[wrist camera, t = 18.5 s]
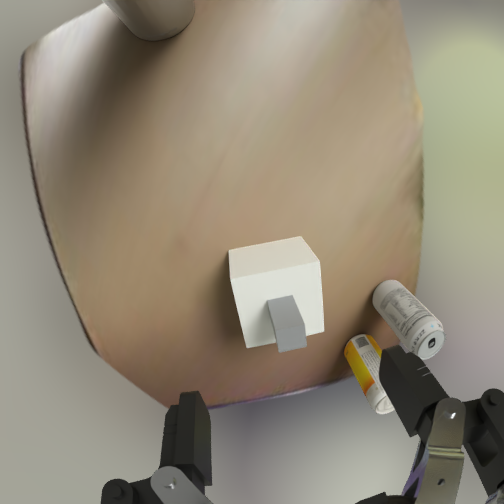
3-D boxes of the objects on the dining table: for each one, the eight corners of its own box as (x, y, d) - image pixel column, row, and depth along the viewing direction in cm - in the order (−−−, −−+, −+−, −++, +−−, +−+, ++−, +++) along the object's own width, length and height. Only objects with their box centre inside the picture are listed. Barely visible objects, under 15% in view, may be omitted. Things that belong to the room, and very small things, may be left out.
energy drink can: (374, 313, 48) (416, 369, 34) (366, 288, 45) (412, 343, 32) (402, 297, 47) (449, 347, 33) (396, 271, 45) (448, 319, 31)
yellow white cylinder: (346, 362, 51) (376, 420, 37) (339, 341, 49) (371, 403, 35) (374, 347, 51) (409, 402, 37) (369, 326, 49) (407, 383, 35)
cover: (228, 250, 41) (232, 308, 27) (300, 236, 41) (337, 285, 27) (242, 311, 45) (251, 381, 31) (307, 297, 45) (338, 361, 31)
